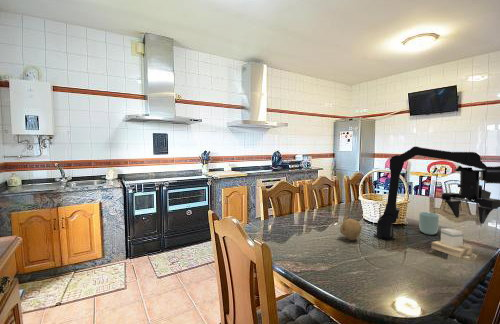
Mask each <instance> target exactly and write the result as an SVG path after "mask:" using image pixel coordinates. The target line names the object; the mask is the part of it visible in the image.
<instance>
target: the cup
mask: <svg viewBox="0 0 500 324" xmlns="http://www.w3.org/2000/svg"><path fill="white" fill-rule="evenodd" d="M439 218H440V216H439V214H437V213H435V212H434V213H433V212H430V211H429V212H428V211H421V212H419V215H418V225H419V226H418V228H419V230H420V231H421V233H423V234H425V235H427V236H429V235H430V236H431V235H432V236H434V235H436V234H437V232H438V230H439V223H440V222H439V221H440V219H439Z"/></svg>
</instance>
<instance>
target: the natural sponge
mask: <svg viewBox="0 0 500 324" xmlns="http://www.w3.org/2000/svg"><path fill="white" fill-rule="evenodd" d="M361 231H362V225H361V224H360V222H359V221H358V220H356V219H354V218H348V219H345V220H344V221H343V222H342V223H341V225H340V227H339V232H340V234H341V235H342V236H345V237H346V238H347V239H348V241H349V240H350V241H355V240H356V239H358V238H359V236H360V234H361Z"/></svg>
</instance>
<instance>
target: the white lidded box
mask: <svg viewBox="0 0 500 324" xmlns="http://www.w3.org/2000/svg"><path fill="white" fill-rule="evenodd" d="M440 240H441V243H443V244H445V245H448V246H450V247H461V246H462V245H463V243H464V242H463V240H464V232H463V231H462V230H458V229H455V228H452V227H451V228H450V227H449V228H440Z"/></svg>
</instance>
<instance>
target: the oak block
mask: <svg viewBox="0 0 500 324" xmlns="http://www.w3.org/2000/svg"><path fill="white" fill-rule="evenodd" d="M431 249H432V250H435V251H439V252H441V253H445V254H447V255H451V256H453V257H457V258H463V257H466V256H469V255H472V254H474V247H473V246H470V245H468V244H463V245H462V246H461V247H450V246H448V245H445V244H443V243H441V239H440V240H436V241H432V242H431Z"/></svg>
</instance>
